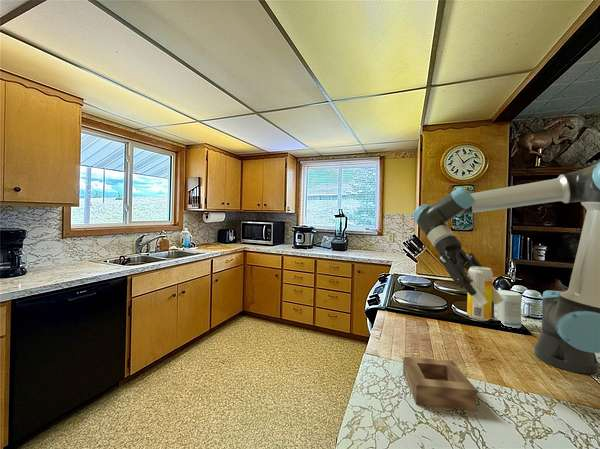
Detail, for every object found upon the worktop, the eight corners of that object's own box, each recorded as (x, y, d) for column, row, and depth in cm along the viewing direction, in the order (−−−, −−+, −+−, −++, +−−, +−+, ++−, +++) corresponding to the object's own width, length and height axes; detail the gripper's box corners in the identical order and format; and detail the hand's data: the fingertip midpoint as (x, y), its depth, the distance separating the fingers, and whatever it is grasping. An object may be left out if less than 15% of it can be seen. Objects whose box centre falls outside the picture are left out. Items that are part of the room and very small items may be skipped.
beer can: (490, 316, 81) (492, 267, 81) (491, 323, 76) (493, 270, 76) (467, 312, 85) (468, 265, 84) (466, 318, 80) (468, 268, 79)
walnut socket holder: (452, 377, 79) (452, 360, 79) (476, 410, 66) (476, 390, 65) (403, 373, 81) (403, 356, 81) (416, 404, 68) (416, 384, 67)
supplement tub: (524, 326, 118) (525, 293, 118) (516, 331, 113) (516, 296, 113) (498, 319, 127) (499, 288, 126) (489, 323, 121) (490, 291, 121)
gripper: (457, 247, 98) (503, 306, 83) (416, 249, 91) (459, 313, 76) (471, 234, 93) (523, 293, 78) (429, 234, 86) (478, 300, 71)
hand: (491, 303), depth 77 cm, fingers closed on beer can, 6 cm apart
